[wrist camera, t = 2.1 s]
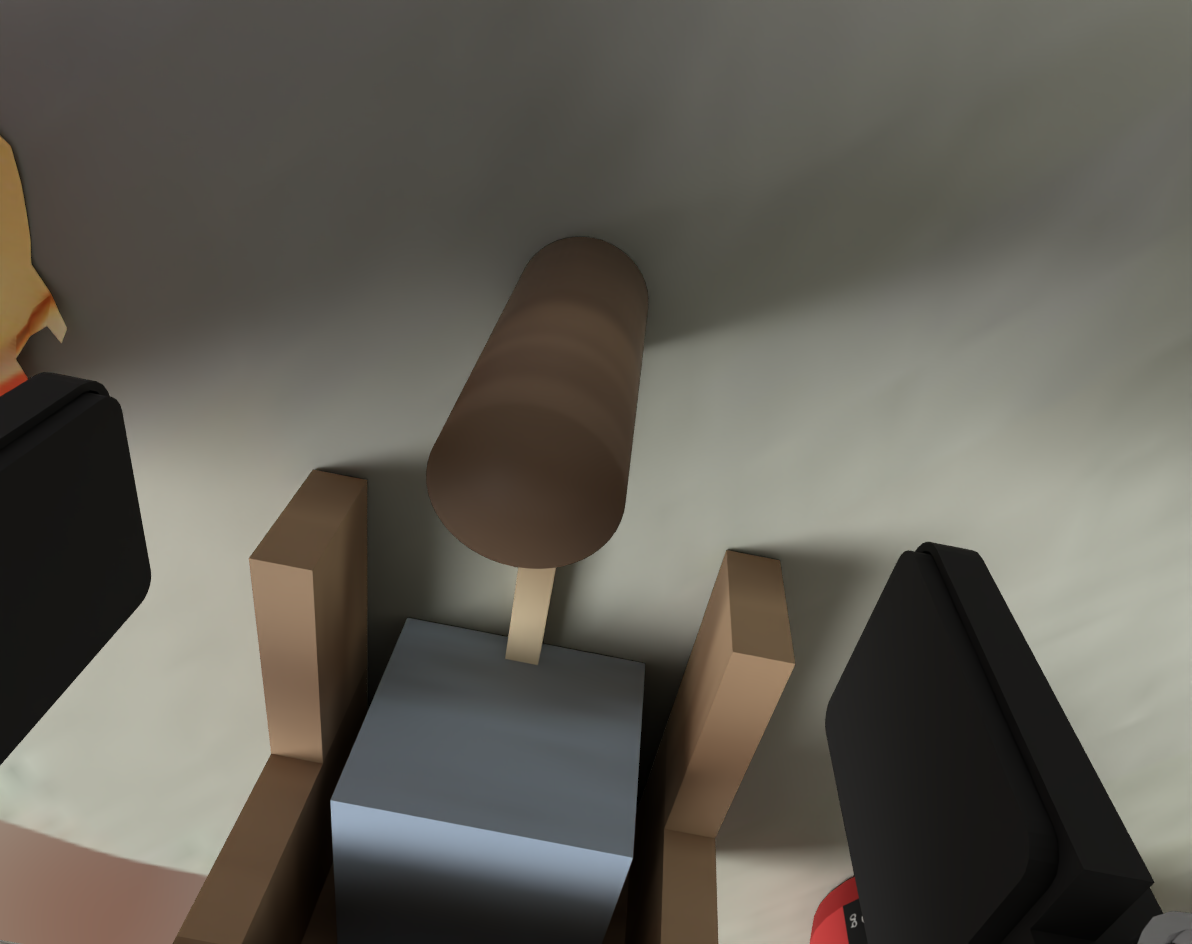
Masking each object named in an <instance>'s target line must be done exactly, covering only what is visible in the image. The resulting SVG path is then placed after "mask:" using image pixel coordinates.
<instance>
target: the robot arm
mask: <svg viewBox="0 0 1192 944" xmlns="http://www.w3.org/2000/svg"><path fill="white" fill-rule="evenodd" d="M150 582H151V569H150V564H149V558H148V553H147V547H146V541H145V536H144V530H143V525H142V519H141V514H140V508H139V502H138V497H137V491H136V486H135V480H134V475H133V469H132V463H131V458H130V452H129V447H128V441H127V436H126V430H125V424H124V419H123V413H122V409H121V406H120V404H119V402H118V401H117V400H116V399H114V398H113V397H110V396H109V393H108V391H107V390H106V388H105V387H104V386H103V385H102V384H100V383H98V382H97V381H91V380H86V379H81V378H76V377H71V376H65V375H60V374H55V373H46V372H43V373H40V374H38V375H35V376H33V377H32V378H30V379H28V380H27V381H25V382H23V383H22V384H20V385H18V386H17V387H15V388H13V389H12V390H10V391H8V392H7V393H5V394H3V395H2V396H0V765H1V764H2V763H3V762H4V760H5V759H6V758H7V757H8V756H9V755H10V753H11V752H12V751H13V750H14V749H15V748H16V747H17V745H18V744H19V743H20V742H21V741H22V740H23V739H24V737H25V736H26V735H27V734H28V733H29V732H30V730H31V729H32V728H33V727H34V726H35V725H36V724H37V722H38V721H39V720H40V719H41V718H42V717H43V716H44V714H45V713H46V712H47V711H48V710H49V709H50V708H51V706H52V705H53V704H54V703H55V702H56V701H57V699H58V698H59V697H60V696H61V695H62V694H63V693H64V691H65V690H66V689H67V688H68V687H69V686H70V685H71V683H72V682H73V681H74V680H75V679H76V678H77V676H78V675H79V674H80V673H81V672H82V671H83V670H84V668H85V667H86V666H87V665H88V664H89V663H90V662H91V660H92V659H93V658H94V657H95V656H96V655H97V653H98V652H99V651H100V650H101V649H102V648H103V647H104V645H105V644H106V643H107V642H108V641H109V640H110V639H111V637H112V636H113V635H114V634H115V633H116V632H117V630H118V629H119V628H120V627H121V626H122V625H123V624H124V622H125V621H126V620H127V619H128V618H129V617H130V616H131V614H132V613H133V612H134V611H135V610H136V609H137V608H138V606H139V605H140V604H141V603H142V601H143V600H144V598H145V596H146V594H147V592H148V590H149V586H150ZM825 728H826V735H827V740H828V745H829V750H830V755H831V760H832V765H833V770H834V775H835V780H836V785H837V790H838V796H839V801H840V806H841V811H842V816H843V821H844V826H845V831H846V836H847V841H848V846H849V851H850V856H851V861H852V866H853V871H854V876H855V881H856V886H857V891H858V896H859V901H860V906H861V912H862V917H863V922H864V927H865V932H866V937H867V942H868V944H1192V913H1187V912H1177V911H1170V912H1167V913H1164V914H1163V912H1162V910H1161V908H1160V906H1159V904H1158V903H1157V901H1156V899H1155V897H1154V895H1153V893H1152V891H1151V889H1150V886H1151V885H1152V884H1153V883H1154V881H1153V879H1152V877H1151V875H1150V873H1149V871H1148V869H1147V867H1146V866H1145V864H1144V862H1143V860H1142V858H1141V856H1140V854H1139V852H1138V850H1137V849H1136V847H1135V845H1134V843H1133V841H1132V839H1131V837H1130V835H1129V834H1128V832H1127V830H1126V828H1125V826H1124V824H1123V822H1122V820H1121V818H1120V817H1119V815H1118V813H1117V811H1116V809H1115V807H1114V805H1113V803H1112V802H1111V800H1110V798H1109V796H1108V794H1107V792H1106V790H1105V788H1104V787H1103V785H1102V783H1101V781H1100V779H1099V777H1098V775H1097V773H1096V771H1095V770H1094V768H1093V766H1092V764H1091V762H1090V760H1089V758H1088V756H1087V755H1086V753H1085V751H1084V749H1083V747H1082V745H1081V743H1080V741H1079V739H1078V738H1077V736H1076V734H1075V732H1074V730H1073V728H1072V726H1071V724H1070V723H1069V721H1068V719H1067V717H1066V715H1065V713H1064V711H1063V709H1062V708H1061V706H1060V704H1059V702H1058V700H1057V698H1056V696H1055V694H1054V692H1053V691H1052V689H1051V687H1050V685H1049V683H1048V681H1047V679H1046V677H1045V676H1044V674H1043V672H1042V670H1041V668H1040V666H1039V664H1038V662H1037V661H1036V659H1035V657H1034V655H1033V653H1032V651H1031V649H1030V647H1029V645H1028V644H1027V642H1026V640H1025V638H1024V636H1023V634H1022V632H1021V630H1020V629H1019V627H1018V625H1017V623H1016V621H1015V619H1014V617H1013V615H1012V613H1011V612H1010V610H1009V608H1008V606H1007V604H1006V602H1005V600H1004V598H1003V597H1002V595H1001V593H1000V591H999V589H998V587H997V585H996V583H995V582H994V580H993V578H992V576H991V574H990V572H989V570H988V568H987V566H986V565H985V563H984V561H983V559H982V557H981V556H980V555H979V554H978V552H975V551H973V550H968V549H963V548H958V547H953V546H947V545H942V544H937V543H932V542H925V543H923V544H921V545H920V546H919V547H918V548H917V550H916V551H915V552H914V551H909V550H908V551H905V552H904V553H903V554H902V555H901V556H900V558H899V559H898V561H897V563H896V565H895V567H894V569H893V571H892V573H891V575H890V577H889V580H888V582H887V584H886V586H885V588H884V590H883V592H882V594H881V596H880V598H879V600H878V602H877V604H876V606H875V608H874V610H873V612H872V614H871V616H870V619H869V621H868V623H867V625H866V627H865V629H864V631H863V633H862V635H861V637H860V639H859V641H858V643H857V645H856V647H855V649H854V651H853V653H852V655H851V658H850V660H849V662H848V664H847V666H846V668H845V670H844V672H843V674H842V676H841V678H840V680H839V682H838V684H837V686H836V688H835V690H834V692H833V694H832V697H831V699H830V701H829V704H828V707H827V711H826V719H825ZM0 944H19V943H13V942H8V941H3V940H0Z"/></svg>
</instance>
